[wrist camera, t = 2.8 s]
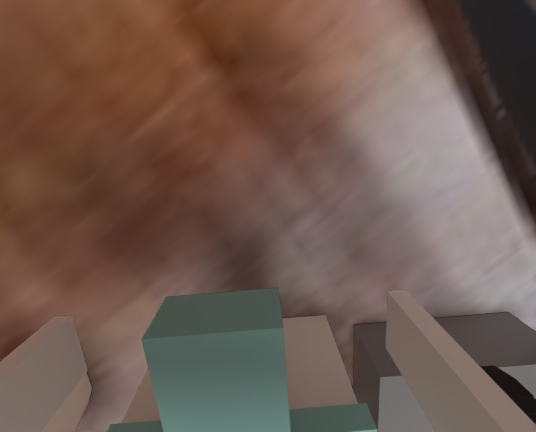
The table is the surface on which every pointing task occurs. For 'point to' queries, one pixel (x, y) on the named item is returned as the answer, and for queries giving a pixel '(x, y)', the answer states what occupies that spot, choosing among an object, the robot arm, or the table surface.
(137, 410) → the tub
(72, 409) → the foam cup
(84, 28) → the table surface
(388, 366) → the block
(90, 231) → the table surface
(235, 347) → the lid
